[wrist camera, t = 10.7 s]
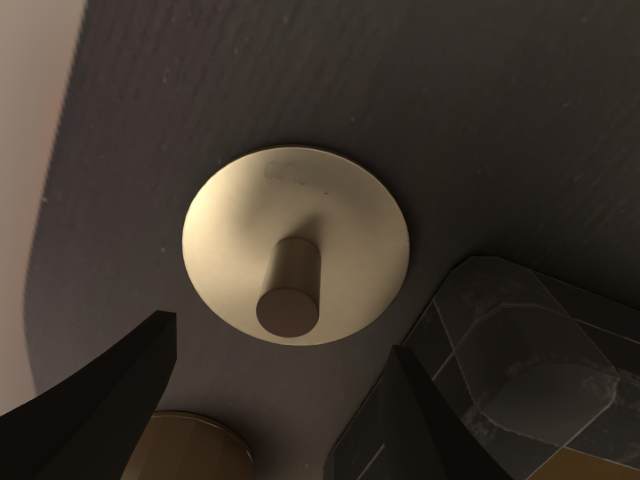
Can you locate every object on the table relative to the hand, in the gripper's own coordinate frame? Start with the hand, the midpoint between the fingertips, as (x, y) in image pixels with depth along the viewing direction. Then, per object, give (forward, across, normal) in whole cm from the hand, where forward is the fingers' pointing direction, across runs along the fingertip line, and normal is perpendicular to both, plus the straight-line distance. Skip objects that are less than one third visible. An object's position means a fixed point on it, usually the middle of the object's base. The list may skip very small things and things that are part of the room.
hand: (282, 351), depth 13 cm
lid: (+6, 0, 0) cm, 6 cm away
